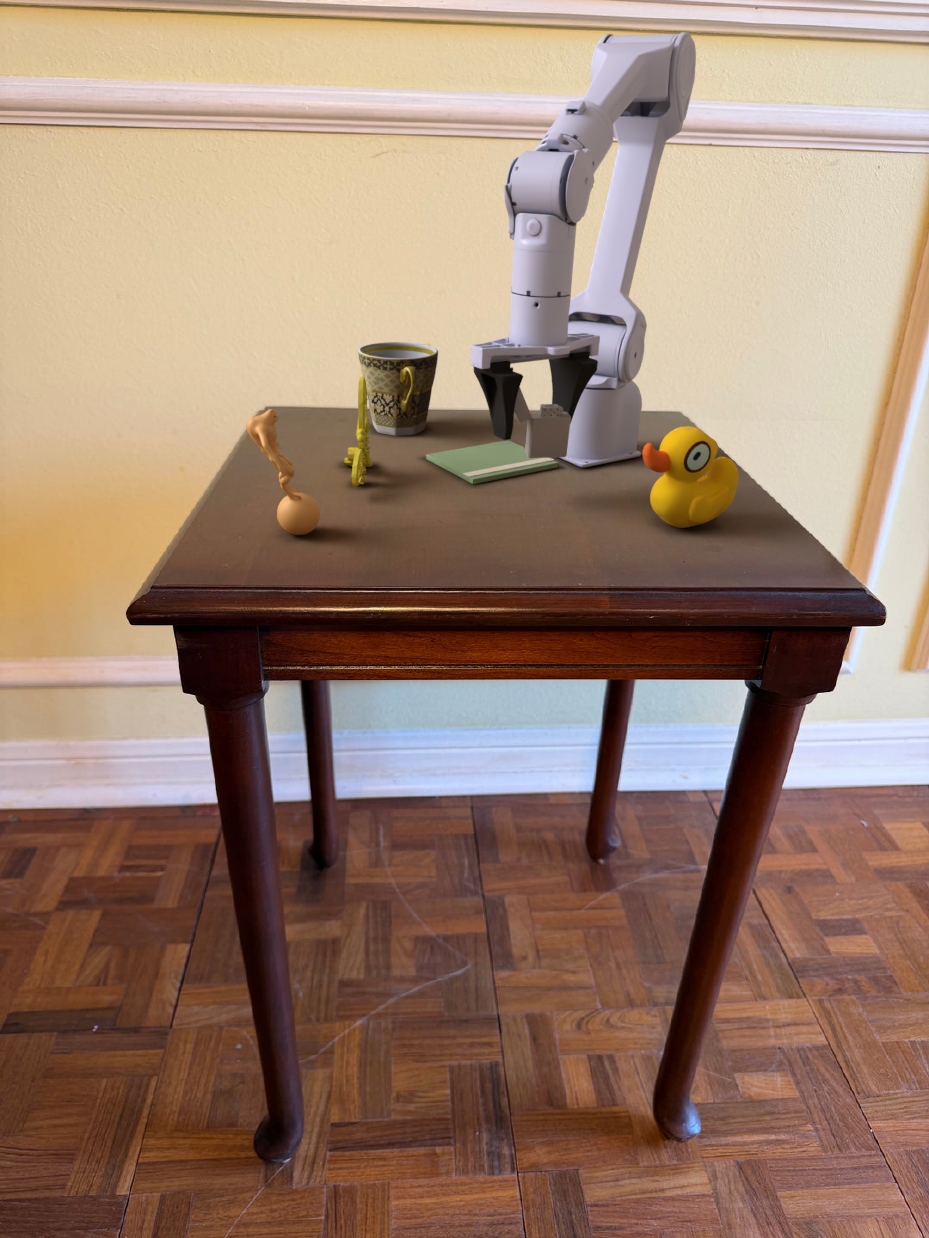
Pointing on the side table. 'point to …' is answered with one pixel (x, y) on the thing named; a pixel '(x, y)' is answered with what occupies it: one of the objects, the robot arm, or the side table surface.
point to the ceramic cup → (398, 385)
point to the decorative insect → (360, 440)
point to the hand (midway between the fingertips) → (531, 432)
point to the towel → (490, 461)
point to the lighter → (544, 429)
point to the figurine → (284, 478)
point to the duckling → (690, 478)
